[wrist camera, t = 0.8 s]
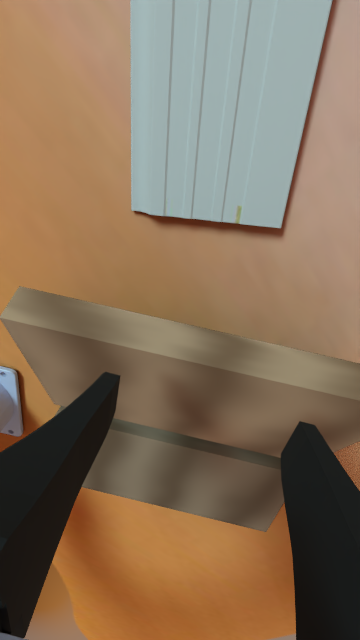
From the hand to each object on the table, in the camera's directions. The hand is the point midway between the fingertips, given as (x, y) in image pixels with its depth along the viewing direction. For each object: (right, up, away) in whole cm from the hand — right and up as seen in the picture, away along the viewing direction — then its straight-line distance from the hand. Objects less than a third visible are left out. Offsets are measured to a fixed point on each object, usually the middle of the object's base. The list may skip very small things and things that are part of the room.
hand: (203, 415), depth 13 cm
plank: (0, 0, +8) cm, 8 cm away
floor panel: (-2, -9, +17) cm, 19 cm away
